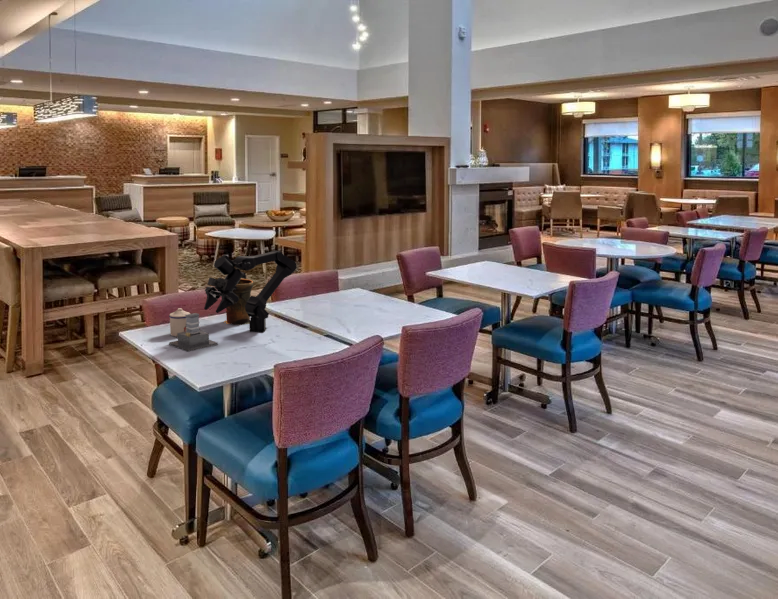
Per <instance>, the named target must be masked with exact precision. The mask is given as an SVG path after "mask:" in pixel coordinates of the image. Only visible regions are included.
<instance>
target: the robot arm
mask: <svg viewBox="0 0 778 599" xmlns="http://www.w3.org/2000/svg"><path fill="white" fill-rule="evenodd" d="M270 262H274V264H276V267H275V273H274V274H273V275H272V277H270V279H269V280H268V281H267V282H266V284H265V285H264V287H263V288H262V289H261V290H260V291H259V293H258V294H257V295H251V297H250V298H249V300H248V301H247V302H246V305H245V310H246V312H247V314H248V316H249V317H250V321H249V324H248V326H249V327H248V328H249V332H250V333H253V332H254V333H264V332H266V330H267V329H268V328H267V324H266V323H267V322H266V321H267V320H266V319H268V318H269V315H270V314H269V312H268V311H267V310H266V308H267V302H268V300H269V299H270V298H271V297H272V295H273V294H274V293H275V291H276V290H277V288H278V287H279V286H280V285H281V283H282V282H283V281H284V279H285V278H288V277H289V276H291V275H292V274H293V273H294V272H295V271H296V270H297V262H296V261H295V260H294V259H291V258H290V257H288V256H286V255H285V254H284V253H283V252H281V251H279V250H272V251H269V252H266V253H260V254H256V255H255V254H254V255H251V256H250V255H248V256H247V255H241V256H236V257H235V259H232V260H231V259H230V258H229V257H228V255H227V254H223V255H222V256H220V257H219V258H217V259H216V260H215V261H214V263H213V267H214V268H215V269H216V270H218V271H219V272H220V273H221V275H223V276H225V277H224V278H222V277H217V278H213V277H209V278H208V280H207V286H206V288H204V292H205V294H206V299H205V303H204V307H203V309H204V310H205V311H207V310H208V309H210V308H211V307H212V306H213V305H214V304H215V303H216V302H218V299H220V298H221V300H220V302H219V305H218V306H217V307H216V310H215V313H217V314H219V313H220V312H222V311H224V310H226V308H227V307H229V306H231V305H234V303H237V302H238V301H239V297H238V296H237V295H236V294H235V293H234V292H232V291H233V290H234V289H237V287H236V285H237V284H238V282H239V281H240V279H247V275H246V274H247V273H246V272H247V271H251V270H252V269H254V268H255V267H257V266H258V265H263V264H268V263H270ZM245 271H246V272H245Z"/></svg>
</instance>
